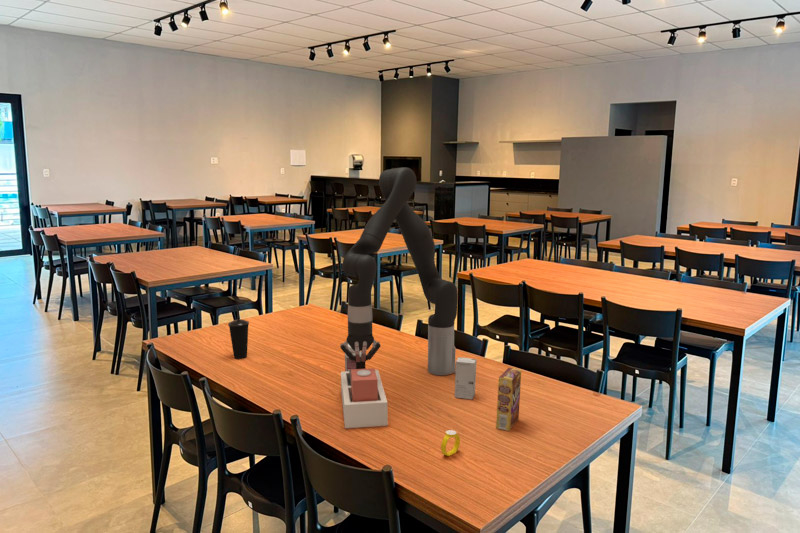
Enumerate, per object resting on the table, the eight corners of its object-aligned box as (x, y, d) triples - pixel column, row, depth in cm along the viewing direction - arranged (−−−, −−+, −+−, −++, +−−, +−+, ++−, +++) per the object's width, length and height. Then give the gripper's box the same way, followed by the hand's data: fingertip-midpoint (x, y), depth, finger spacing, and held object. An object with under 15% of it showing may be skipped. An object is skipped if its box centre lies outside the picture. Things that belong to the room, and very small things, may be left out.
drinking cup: (225, 359, 215) (222, 308, 212) (238, 353, 222) (235, 303, 219) (242, 361, 213) (239, 310, 209) (254, 355, 220) (252, 305, 216)
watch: (453, 449, 147) (454, 427, 147) (461, 452, 145) (463, 430, 145) (438, 455, 143) (439, 433, 142) (446, 459, 141) (448, 437, 140)
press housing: (378, 390, 185) (377, 369, 184) (387, 425, 160) (387, 402, 159) (341, 392, 184) (340, 371, 182) (345, 428, 158) (344, 404, 157)
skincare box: (454, 397, 179) (454, 361, 177) (457, 392, 183) (457, 356, 181) (473, 400, 177) (474, 363, 175) (476, 394, 181) (476, 358, 179)
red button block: (374, 390, 170) (374, 366, 168) (377, 402, 161) (377, 377, 160) (351, 391, 169) (350, 367, 167) (353, 404, 160) (352, 378, 159)
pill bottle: (366, 376, 197) (365, 345, 195) (350, 380, 194) (349, 348, 192) (357, 371, 202) (356, 341, 200) (342, 374, 199) (341, 344, 197)
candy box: (510, 432, 156) (512, 379, 153) (495, 428, 158) (497, 376, 155) (520, 419, 164) (521, 369, 161) (505, 416, 166) (507, 366, 163)
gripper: (380, 314, 178) (380, 367, 181) (337, 316, 176) (339, 369, 179) (382, 321, 170) (383, 375, 173) (338, 322, 169) (339, 378, 172)
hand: (360, 372), depth 176 cm, fingers closed
